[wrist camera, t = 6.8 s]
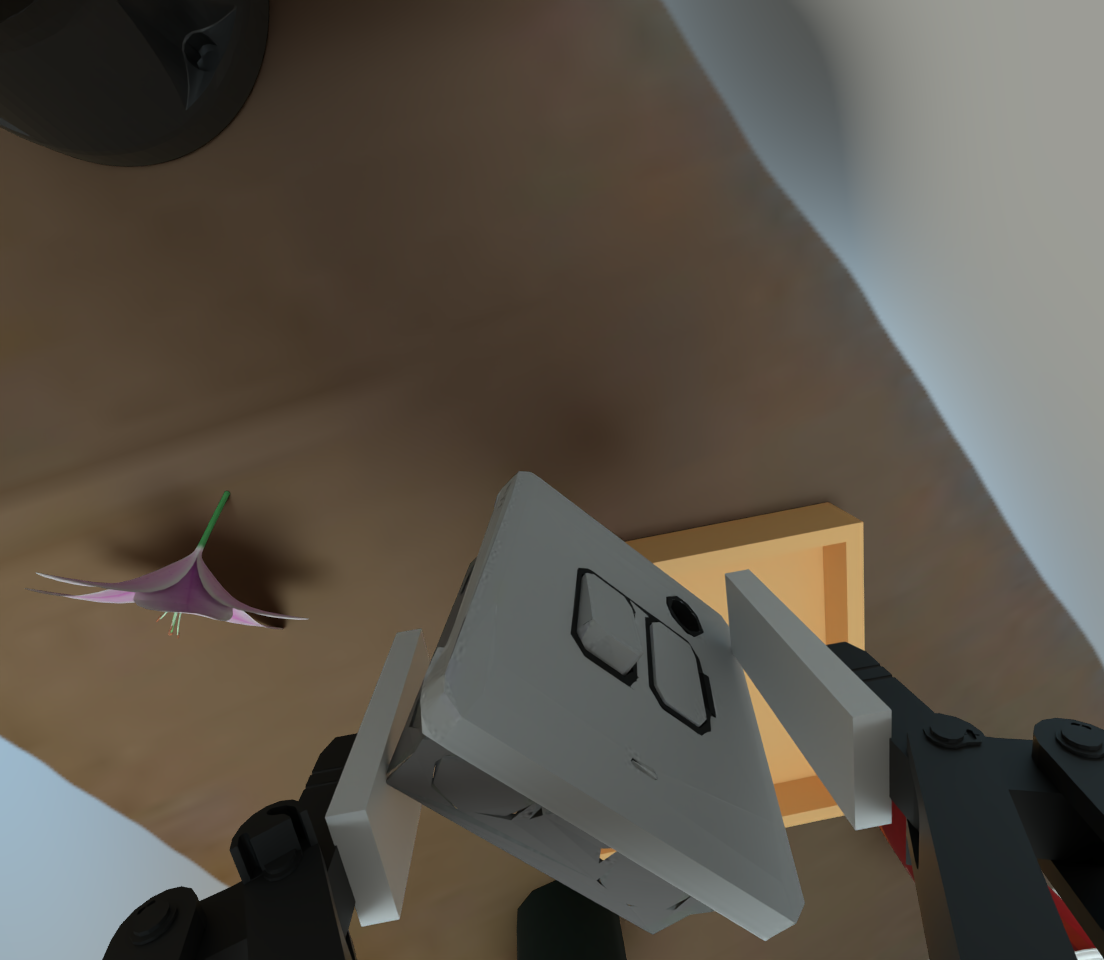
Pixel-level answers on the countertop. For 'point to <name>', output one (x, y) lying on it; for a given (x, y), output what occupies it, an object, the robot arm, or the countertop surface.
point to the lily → (177, 589)
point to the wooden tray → (802, 585)
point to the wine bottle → (567, 927)
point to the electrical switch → (599, 726)
